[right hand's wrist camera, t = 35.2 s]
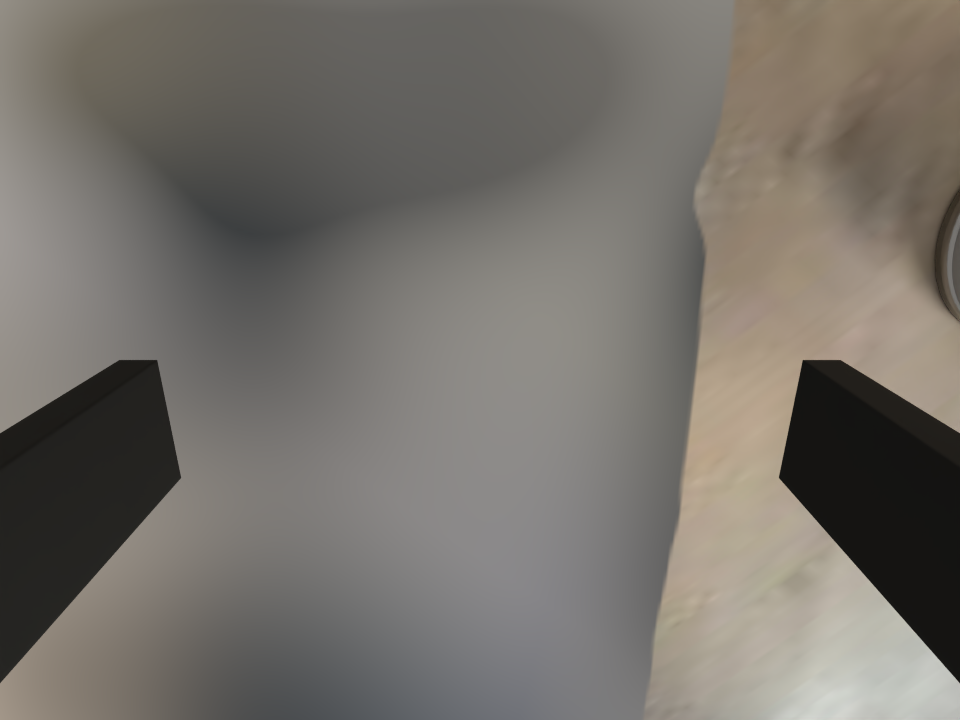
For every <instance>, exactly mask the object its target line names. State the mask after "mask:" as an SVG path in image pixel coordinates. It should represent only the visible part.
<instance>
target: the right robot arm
mask: <svg viewBox="0 0 960 720" xmlns="http://www.w3.org/2000/svg"><path fill="white" fill-rule="evenodd" d="M935 272H936V279H937V284H938V288H939V291H940V294H941V296H942V299H943V301H944V302H945V304H946V306H947V308H948V309H949V310H950V312H951V313H952V314H953V315H954V316H955V318H956V319H957V320H958V321H960V190H959V192H958V193H957V195H956V197H955V198H954V200H953V202H952V204H951V205H950V208H949V210H948V212H947V214H946V216H945V219H944V221H943V224H942V227H941V230H940V233H939V237H938V241H937V247H936V256H935ZM180 478H181V475H180V470H179V465H178V460H177V456H176V451H175V446H174V441H173V436H172V431H171V426H170V421H169V416H168V411H167V406H166V402H165V397H164V392H163V387H162V382H161V377H160V372H159V367H158V362H157V360H119V361H117V362H116V363H114V364H112V365H111V366H109V367H107V368H106V369H104V370H103V371H101V372H99V373H98V374H96V375H95V376H93V377H91V378H90V379H88V380H86V381H85V382H83V383H82V384H80V385H78V386H77V387H75V388H73V389H72V390H70V391H69V392H67V393H65V394H64V395H62V396H60V397H59V398H57V399H55V400H54V401H52V402H51V403H49V404H47V405H46V406H44V407H42V408H41V409H39V410H37V411H36V412H34V413H33V414H31V415H29V416H28V417H26V418H24V419H23V420H21V421H20V422H18V423H16V424H15V425H13V426H11V427H10V428H8V429H7V430H5V431H3V432H2V433H0V683H1V681H2V680H3V679H4V678H5V677H6V676H7V675H8V674H9V672H10V671H11V670H12V669H13V668H14V667H15V666H16V664H17V663H18V662H19V661H20V660H21V659H22V658H23V657H24V655H25V654H26V653H27V652H28V651H29V650H30V649H31V647H32V646H33V645H34V644H35V643H36V642H37V641H38V639H39V638H40V637H41V636H42V635H43V634H44V633H45V632H46V630H47V629H48V628H49V627H50V626H51V625H52V624H53V622H54V621H55V620H56V619H57V618H58V617H59V616H60V615H61V613H62V612H63V611H64V610H65V609H66V608H67V607H68V605H69V604H70V603H71V602H72V601H73V600H74V599H75V598H76V596H77V595H78V594H79V593H80V592H81V591H82V589H83V588H84V587H85V586H86V585H87V584H88V583H89V582H90V581H91V579H92V578H93V577H94V576H95V575H96V574H97V573H98V571H99V570H100V569H101V568H102V567H103V566H104V565H105V563H106V562H107V561H108V560H109V559H110V558H111V557H112V556H113V554H114V553H115V552H116V551H117V550H118V549H119V548H120V546H121V545H122V544H123V543H124V542H125V541H126V540H127V539H128V537H129V536H130V535H131V534H132V533H133V532H134V531H135V529H136V528H137V527H138V526H139V525H140V524H141V523H142V522H143V520H144V519H145V518H146V517H147V516H148V515H149V514H150V512H151V511H152V510H153V509H154V508H155V507H156V506H157V505H158V503H159V502H160V501H161V500H162V499H163V498H164V497H165V495H166V494H167V493H168V492H169V491H170V490H171V489H172V488H173V486H174V485H175V484H176V483H177V482H178V481H179V480H180ZM779 478H780V480H781V481H782V482H783V483H784V484H785V485H786V486H787V488H788V489H789V490H790V491H791V492H792V493H793V494H794V495H795V497H796V498H797V499H798V500H799V501H800V502H801V503H802V505H803V506H804V507H805V508H806V509H807V510H808V511H809V512H810V514H811V515H812V516H813V517H814V518H815V519H816V520H817V522H818V523H819V524H820V525H821V526H822V527H823V528H824V529H825V531H826V532H827V533H828V534H829V535H830V536H831V537H832V539H833V540H834V541H835V542H836V543H837V544H838V545H839V547H840V548H841V549H842V550H843V551H844V552H845V553H846V554H847V556H848V557H849V558H850V559H851V560H852V561H853V562H854V564H855V565H856V566H857V567H858V568H859V569H860V570H861V571H862V573H863V574H864V575H865V576H866V577H867V578H868V579H869V581H870V582H871V583H872V584H873V585H874V586H875V587H876V588H877V590H878V591H879V592H880V593H881V594H882V595H883V596H884V598H885V599H886V600H887V601H888V602H889V603H890V604H891V605H892V607H893V608H894V609H895V610H896V611H897V612H898V613H899V615H900V616H901V617H902V618H903V619H904V620H905V621H906V623H907V624H908V625H909V626H910V627H911V628H912V629H913V630H914V632H915V633H916V634H917V635H918V636H919V637H920V638H921V640H922V641H923V642H924V643H925V644H926V645H927V646H928V647H929V649H930V650H931V651H932V652H933V653H934V654H935V655H936V657H937V658H938V659H939V660H940V661H941V662H942V663H943V664H944V666H945V667H946V668H947V669H948V670H949V671H950V672H951V674H952V675H953V676H954V677H955V678H956V679H957V680H958V682H959V683H960V433H958V432H957V431H955V430H953V429H952V428H950V427H949V426H947V425H945V424H944V423H942V422H940V421H939V420H937V419H936V418H934V417H932V416H931V415H929V414H927V413H926V412H924V411H923V410H921V409H919V408H918V407H916V406H914V405H913V404H911V403H909V402H908V401H906V400H905V399H903V398H901V397H900V396H898V395H896V394H895V393H893V392H892V391H890V390H888V389H887V388H885V387H883V386H882V385H880V384H879V383H877V382H875V381H874V380H872V379H870V378H869V377H867V376H866V375H864V374H862V373H861V372H859V371H857V370H856V369H854V368H853V367H851V366H849V365H848V364H846V363H844V362H843V361H841V360H803V362H802V367H801V372H800V377H799V382H798V387H797V392H796V397H795V401H794V406H793V411H792V416H791V421H790V426H789V431H788V436H787V441H786V446H785V451H784V455H783V460H782V465H781V470H780V475H779Z"/></svg>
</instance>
